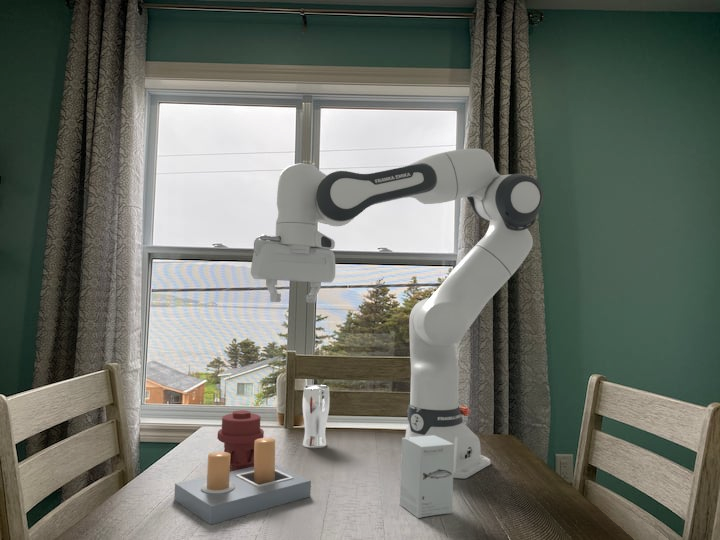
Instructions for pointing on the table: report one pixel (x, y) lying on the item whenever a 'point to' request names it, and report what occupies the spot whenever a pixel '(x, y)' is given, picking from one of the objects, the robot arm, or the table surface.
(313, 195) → the robot arm
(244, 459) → the mechanical component
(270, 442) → the orange smooth rounded part
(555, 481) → the table surface
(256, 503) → the grey peg board
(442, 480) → the supplement box
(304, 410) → the beer glass
